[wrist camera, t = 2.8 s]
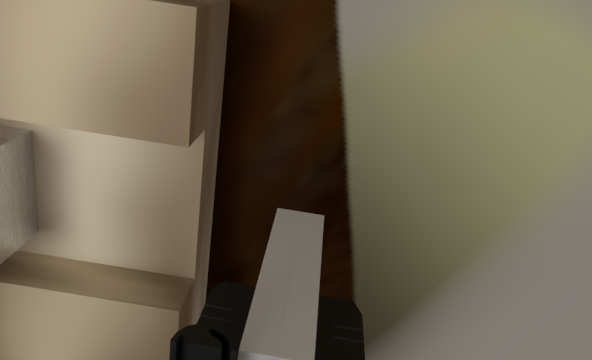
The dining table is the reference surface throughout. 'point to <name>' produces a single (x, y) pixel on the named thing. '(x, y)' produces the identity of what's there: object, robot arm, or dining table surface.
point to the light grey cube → (17, 190)
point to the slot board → (112, 172)
